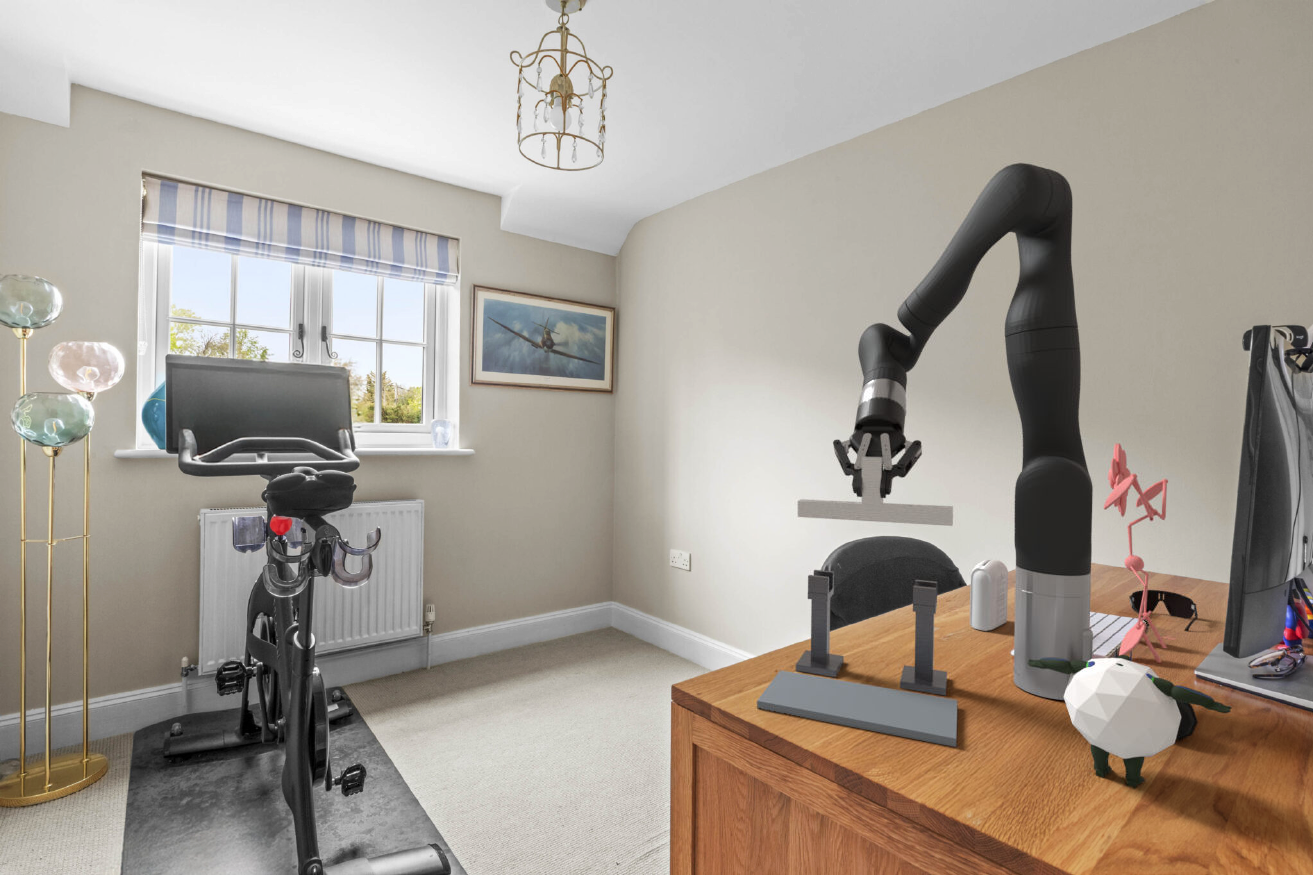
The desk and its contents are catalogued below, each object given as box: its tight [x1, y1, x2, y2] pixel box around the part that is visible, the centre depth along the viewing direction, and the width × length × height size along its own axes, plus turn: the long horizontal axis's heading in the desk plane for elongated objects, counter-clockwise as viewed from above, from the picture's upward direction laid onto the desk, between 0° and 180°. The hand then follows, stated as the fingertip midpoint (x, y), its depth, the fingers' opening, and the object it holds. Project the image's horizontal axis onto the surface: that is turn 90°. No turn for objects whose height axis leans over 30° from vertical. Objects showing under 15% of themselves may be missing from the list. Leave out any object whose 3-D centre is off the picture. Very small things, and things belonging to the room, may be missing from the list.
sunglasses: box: [1129, 589, 1198, 632], centre depth 128 cm, size 10×12×5 cm
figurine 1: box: [1103, 443, 1176, 663], centre depth 113 cm, size 15×26×35 cm, turn 138°
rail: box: [797, 457, 954, 527], centre depth 99 cm, size 22×2×10 cm, turn 65°
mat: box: [756, 670, 958, 748], centre depth 87 cm, size 24×12×1 cm, turn 65°
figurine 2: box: [1028, 647, 1233, 789], centre depth 71 cm, size 18×10×13 cm, turn 44°
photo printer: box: [969, 558, 1009, 632], centre depth 124 cm, size 10×4×12 cm, turn 134°
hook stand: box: [795, 569, 948, 696], centre depth 99 cm, size 21×7×14 cm, turn 65°
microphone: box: [1175, 700, 1199, 741], centre depth 86 cm, size 6×6×20 cm
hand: (870, 493), depth 97 cm, fingers closed on rail, 2 cm apart
